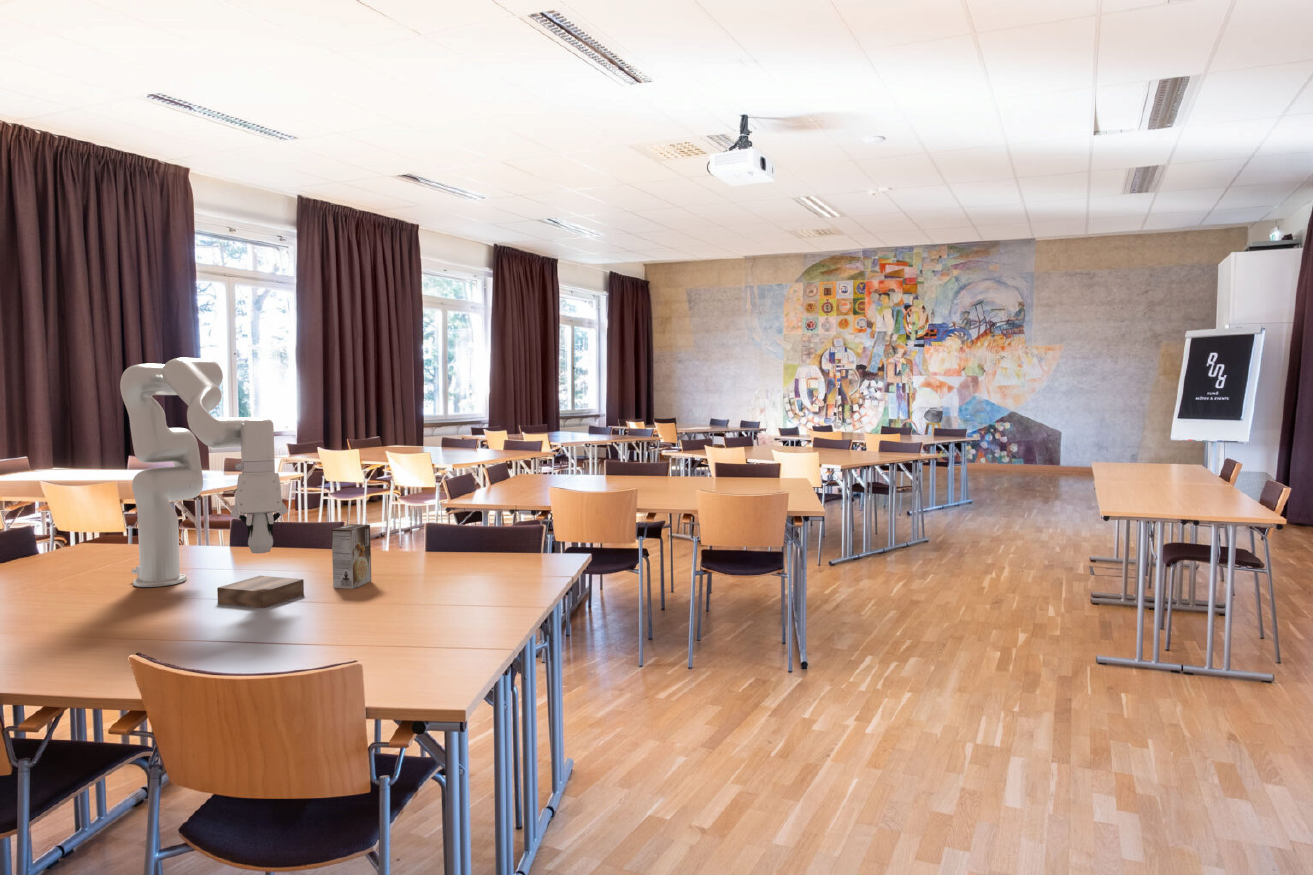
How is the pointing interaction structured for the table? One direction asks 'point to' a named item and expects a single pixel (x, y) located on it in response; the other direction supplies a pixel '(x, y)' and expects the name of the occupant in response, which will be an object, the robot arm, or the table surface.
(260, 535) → the salt shaker
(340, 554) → the coffee box
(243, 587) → the walnut base
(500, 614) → the table surface
